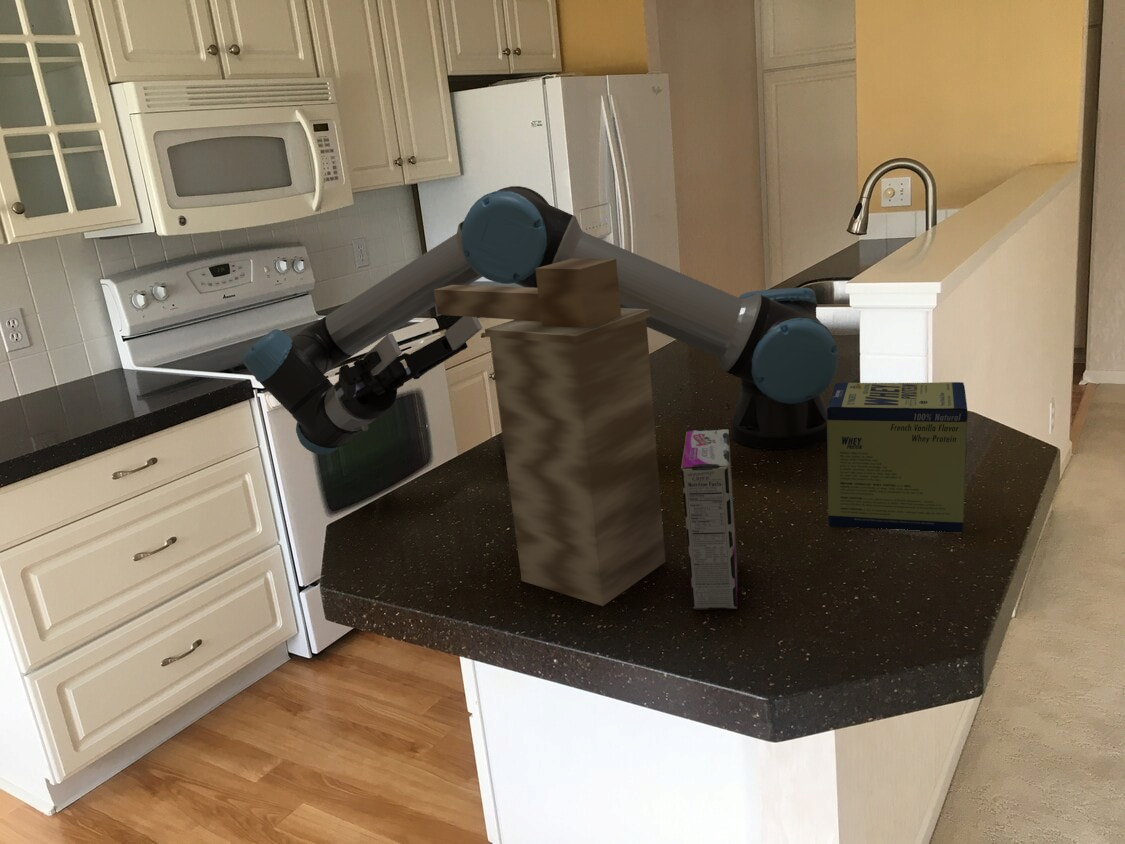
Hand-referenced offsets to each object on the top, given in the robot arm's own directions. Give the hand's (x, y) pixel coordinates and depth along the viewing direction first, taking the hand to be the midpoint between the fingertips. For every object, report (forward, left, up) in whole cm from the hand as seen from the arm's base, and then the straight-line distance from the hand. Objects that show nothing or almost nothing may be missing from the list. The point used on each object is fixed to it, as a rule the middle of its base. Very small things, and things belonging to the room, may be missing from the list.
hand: (437, 331), depth 117 cm
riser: (-19, +14, -27) cm, 36 cm away
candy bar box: (-33, +18, -27) cm, 46 cm away
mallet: (-13, +10, +3) cm, 17 cm away
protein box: (-55, 0, -27) cm, 61 cm away
